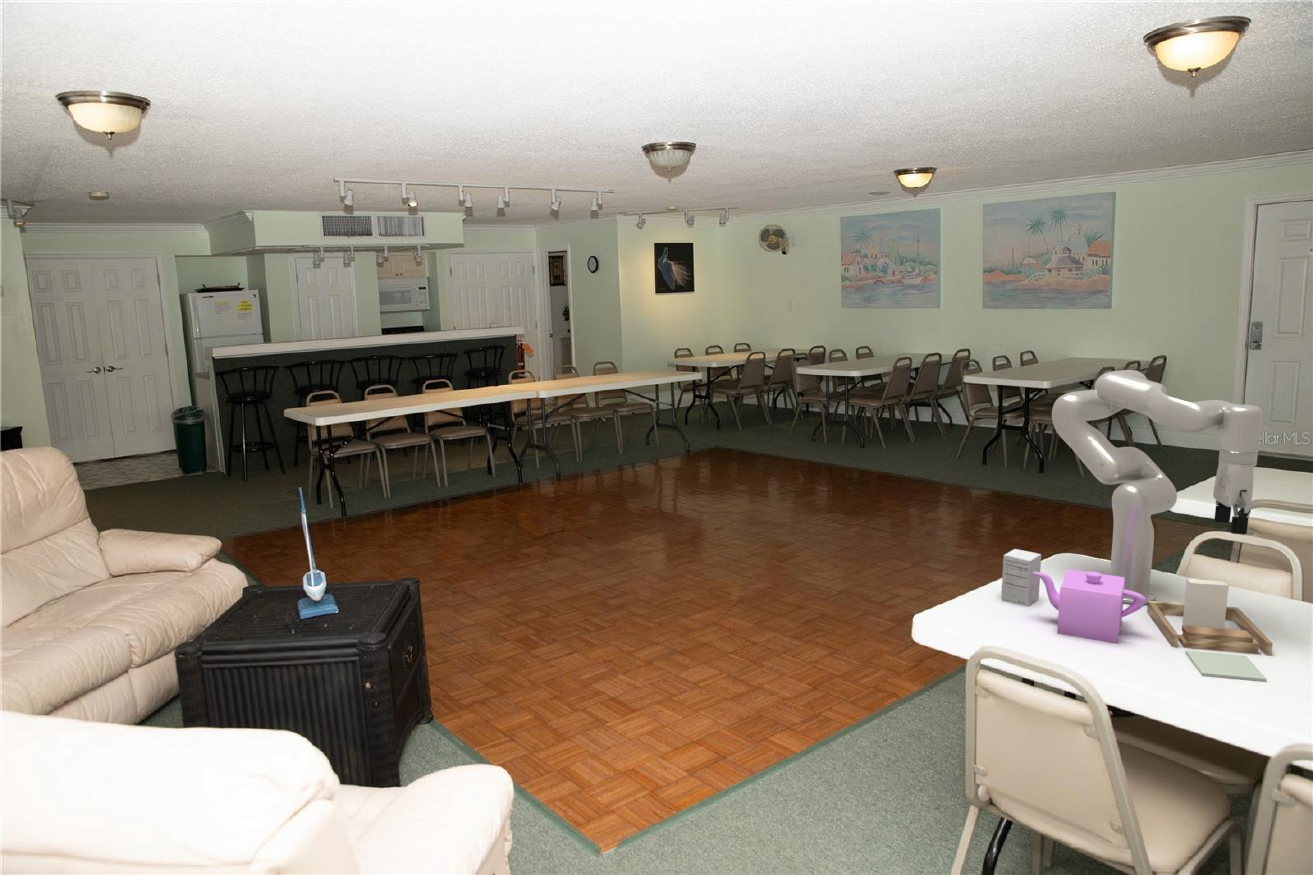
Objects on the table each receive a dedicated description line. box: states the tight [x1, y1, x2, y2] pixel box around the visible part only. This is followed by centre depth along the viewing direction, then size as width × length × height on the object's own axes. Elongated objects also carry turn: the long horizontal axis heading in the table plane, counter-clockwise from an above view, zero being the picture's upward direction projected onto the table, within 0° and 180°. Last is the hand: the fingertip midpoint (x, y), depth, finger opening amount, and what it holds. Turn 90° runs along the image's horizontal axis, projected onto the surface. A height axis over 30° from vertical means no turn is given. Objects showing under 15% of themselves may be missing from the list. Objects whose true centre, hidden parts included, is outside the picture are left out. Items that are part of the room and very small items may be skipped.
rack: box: [1146, 600, 1273, 656], centre depth 210 cm, size 20×22×3 cm
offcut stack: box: [1178, 625, 1260, 655], centre depth 202 cm, size 15×5×4 cm, turn 74°
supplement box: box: [1000, 548, 1042, 607], centre depth 233 cm, size 7×7×13 cm
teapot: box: [1033, 569, 1146, 645], centre depth 214 cm, size 15×25×14 cm, turn 59°
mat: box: [1184, 649, 1268, 682], centre depth 192 cm, size 12×12×1 cm
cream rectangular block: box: [1181, 578, 1229, 629], centre depth 211 cm, size 8×3×12 cm, turn 74°
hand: (1229, 527), depth 209 cm, fingers open, 9 cm apart
